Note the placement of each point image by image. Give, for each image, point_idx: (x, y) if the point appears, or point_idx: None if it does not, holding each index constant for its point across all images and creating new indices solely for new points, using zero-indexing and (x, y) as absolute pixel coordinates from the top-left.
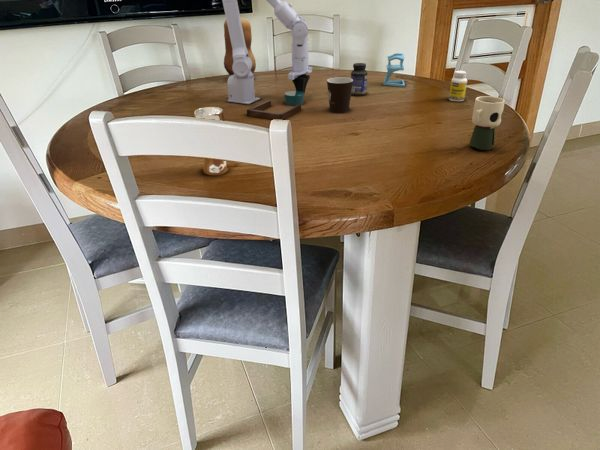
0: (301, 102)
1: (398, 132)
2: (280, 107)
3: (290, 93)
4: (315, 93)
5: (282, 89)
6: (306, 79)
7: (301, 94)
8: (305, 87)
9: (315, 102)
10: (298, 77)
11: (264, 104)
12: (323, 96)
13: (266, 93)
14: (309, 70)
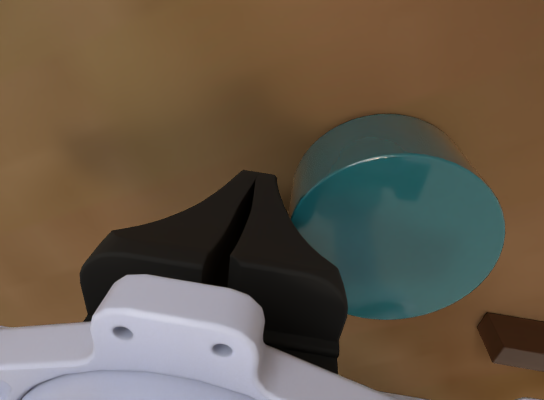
0: (430, 128)
1: None
2: (522, 253)
3: (404, 277)
4: (13, 125)
5: None
6: (216, 250)
7: (436, 167)
8: (220, 199)
9: (307, 6)
10: (337, 369)
11: None
12: (52, 6)
13: None
14: (111, 346)
